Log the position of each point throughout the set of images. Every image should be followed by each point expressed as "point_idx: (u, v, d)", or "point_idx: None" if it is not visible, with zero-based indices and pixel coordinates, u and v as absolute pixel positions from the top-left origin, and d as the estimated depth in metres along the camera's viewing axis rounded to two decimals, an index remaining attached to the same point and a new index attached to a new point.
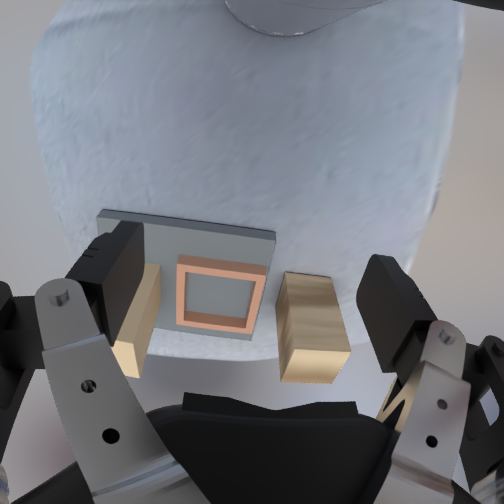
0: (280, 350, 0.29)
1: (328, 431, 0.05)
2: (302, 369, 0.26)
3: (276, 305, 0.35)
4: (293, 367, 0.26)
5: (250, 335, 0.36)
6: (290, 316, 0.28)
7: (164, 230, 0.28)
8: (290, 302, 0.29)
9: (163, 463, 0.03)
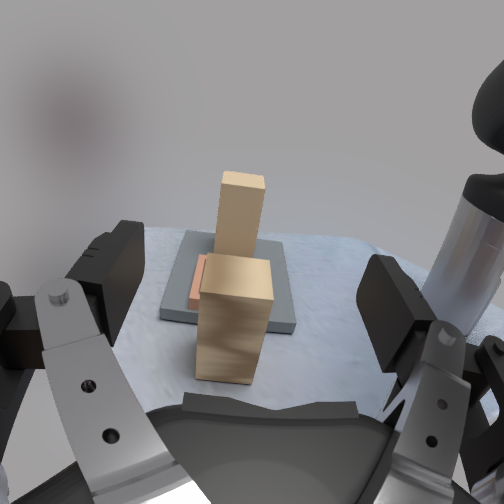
0: None
1: (328, 431, 0.05)
2: (235, 266, 0.24)
3: None
4: (237, 260, 0.25)
5: (169, 307, 0.31)
6: None
7: (283, 268, 0.41)
8: None
9: (163, 463, 0.03)
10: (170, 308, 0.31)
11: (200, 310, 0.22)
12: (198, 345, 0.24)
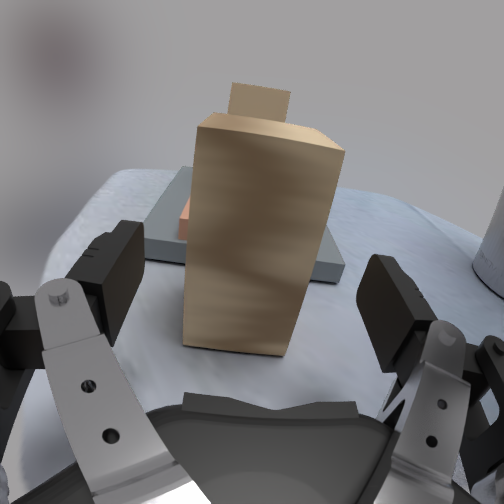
0: None
1: (328, 431, 0.05)
2: (262, 122, 0.13)
3: None
4: (264, 120, 0.14)
5: (148, 236, 0.20)
6: None
7: None
8: None
9: (164, 463, 0.03)
10: (150, 237, 0.20)
11: (195, 175, 0.11)
12: (188, 266, 0.12)
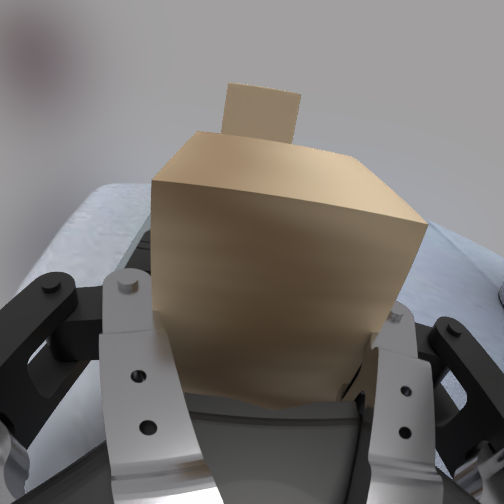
0: None
1: (328, 431, 0.05)
2: (273, 150, 0.08)
3: None
4: (276, 145, 0.09)
5: None
6: None
7: None
8: None
9: (193, 464, 0.03)
10: None
11: (157, 268, 0.06)
12: None
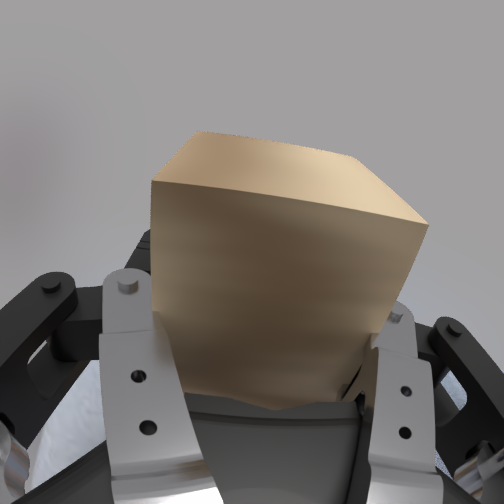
0: None
1: (328, 431, 0.05)
2: (273, 150, 0.08)
3: None
4: (277, 145, 0.09)
5: None
6: None
7: None
8: None
9: (193, 463, 0.03)
10: None
11: (157, 268, 0.06)
12: None
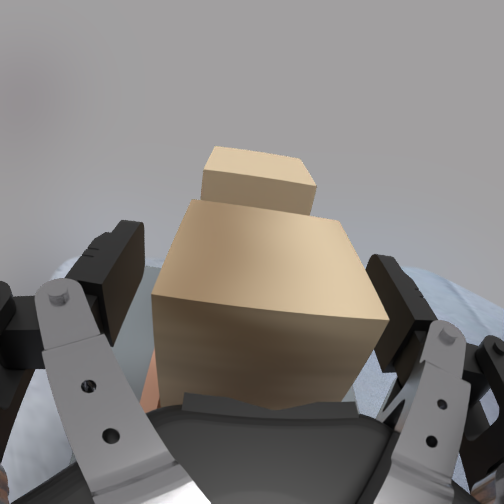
0: None
1: (328, 431, 0.05)
2: (261, 227, 0.09)
3: None
4: (265, 216, 0.10)
5: None
6: None
7: None
8: None
9: (164, 463, 0.03)
10: None
11: (159, 351, 0.07)
12: None
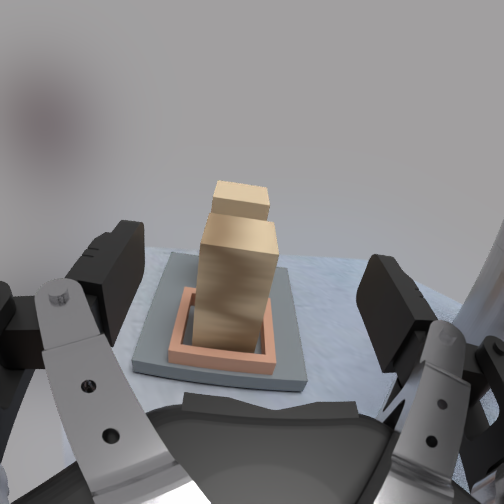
0: None
1: (328, 431, 0.05)
2: (238, 224, 0.23)
3: None
4: (240, 220, 0.24)
5: (143, 359, 0.23)
6: None
7: (289, 303, 0.33)
8: None
9: (164, 463, 0.03)
10: (145, 361, 0.23)
11: (200, 266, 0.21)
12: (196, 309, 0.22)
